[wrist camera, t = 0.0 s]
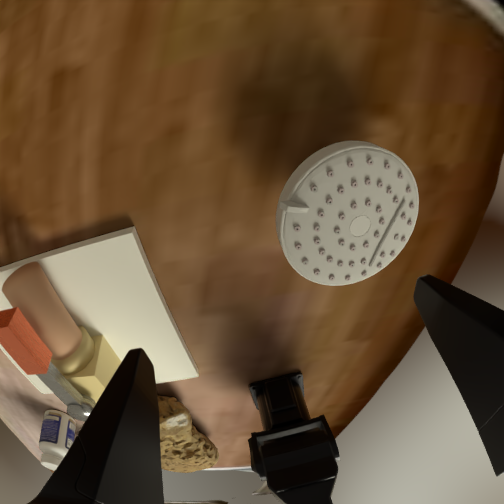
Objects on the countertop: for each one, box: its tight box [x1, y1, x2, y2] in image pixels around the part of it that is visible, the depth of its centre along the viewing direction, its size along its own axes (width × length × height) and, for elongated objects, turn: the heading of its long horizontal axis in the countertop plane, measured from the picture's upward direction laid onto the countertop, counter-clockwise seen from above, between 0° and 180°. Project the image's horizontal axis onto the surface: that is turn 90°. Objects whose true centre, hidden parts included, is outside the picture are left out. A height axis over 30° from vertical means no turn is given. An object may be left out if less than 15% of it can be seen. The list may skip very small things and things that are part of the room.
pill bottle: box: [39, 410, 76, 471], centre depth 32 cm, size 5×5×9 cm
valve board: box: [0, 226, 199, 403], centre depth 24 cm, size 18×22×6 cm
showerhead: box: [276, 141, 419, 286], centre depth 20 cm, size 9×7×10 cm
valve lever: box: [0, 307, 96, 421], centre depth 20 cm, size 13×3×2 cm, turn 9°
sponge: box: [157, 396, 219, 473], centre depth 36 cm, size 13×8×20 cm
